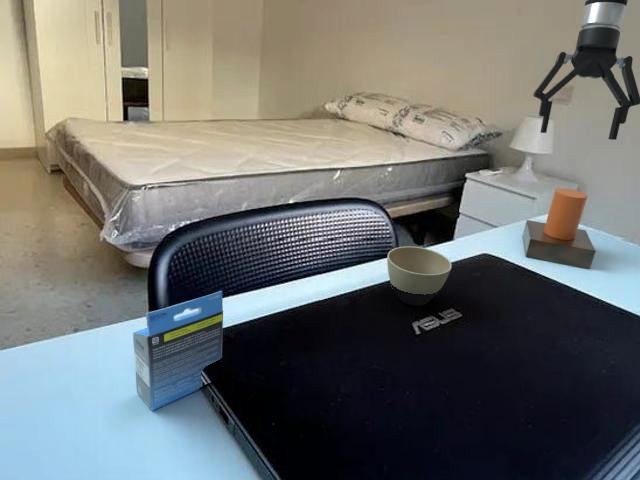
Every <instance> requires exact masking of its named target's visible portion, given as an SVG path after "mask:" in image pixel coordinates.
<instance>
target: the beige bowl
mask: <svg viewBox="0 0 640 480" xmlns="http://www.w3.org/2000/svg"><path fill="white" fill-rule="evenodd" d="M386 257H387V260H386V263H387V265H386V266H387V272H388V273H387V274H388V279H389V281H390V285H391V284H392V285H393V286H394V287H396V288H397V289H399V290H401V291H404V292H408V293H412V294H422V295H423V294H424V295H426V294H433V293H436V292H438V291H439V290H440V291H441V289H442V288H443V286H444V285H445V283H446V281H447V279H448V278H449V276H450V273H451V270H452V267H453V265H452V262H451V260H449V258H448V257H446V256H445V255H443V254H442V253H440V252H438V251H435V250H433V249H429V248H426V247H421V246H409V245H407V246H406V245H405V246H399V247H395V248H393V249H391V250H389V251H388V253H387V256H386ZM392 285H391V286H392ZM440 291H439V292H440ZM439 292H438V293H439Z"/></svg>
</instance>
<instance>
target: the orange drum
mask: <svg viewBox="0 0 640 480" xmlns="http://www.w3.org/2000/svg"><path fill="white" fill-rule="evenodd" d="M587 199H588V195H587V194H586V193H584V192H582V191H580V190H577V189H571V188H564V187H563V188H560V187H559V188H555V190H554V192H553V196H552V200H551V202H550V203H551V204H550V207H549V210H548V213H547V217H546V221H545V223H546V224H545V228H544V233H545V234H547V235H549V236H551V237H554V238H557V239H562V240H573V239H574V238H575V236H576V232H577V229H579V225H580V222H581V219H582V215H583V213H584V209H585V208H586V207H585V206H586V203H587Z"/></svg>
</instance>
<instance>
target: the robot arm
mask: <svg viewBox="0 0 640 480" xmlns="http://www.w3.org/2000/svg"><path fill="white" fill-rule="evenodd" d="M628 1H629V0H585V2H584V7H583V11H582V15H581V16H582V17H581V21H580V25H579V26H580V28H581V30H579V31H578V34H577V40H576V45H575V49H574V53H573V54H569V53H566V51H560V53H558V54H557V56H556V59H555V63H554V65H553V66H552V67H551V69H549V71H548V73H547V74H546V75H545V77H544V78H543V79H542V81H541V82H540V84H539V85H538V87H537V88H536V89H535V90H534V92H533V93H532V94H533V95H532V96H533V97H534V98H537V99H538V100H540V105H539V111H538V116H539V117H542V122H541V128H540V131H539V132H540V133H541V134H547V131H548V125H549V120H550V117H551V111H552V106H553V102H554V101H553V100H550V99H551V98H552V97H553V96H554V95H556V94H557V93H558V92H559V91H560V90H561V89H563V88H564V87H565V86H566V85H567V84H568V83H569V82H570V81H572V80H573V79H574V78H576V76H578V77H579V78H582V79H583V78H584V79H585V78H590V79H600V78H601V80H603V82H604V83H605V84H606V86H607V87H608V89H609V91H610V92H611V94H612V96H613V97H614V99H615V101H616V102H617V104H618V105H619V106H618V107H615V109H614V112H613V116H612V122H611V126H610V129H609V130H610V131H609V134H608V140H612V141H613V140H617V137H618V134H619V130H620V125H624V124H625V123H626V122H627V117H628V114H629V109H630V108H631V107H634V106H638V105H640V92H639V89H638V84H637V82H636V78H635V74H634V70H633V60H634V59H633V56H632V55H628V56H625V57H617V50H618V46H619V42H620V37H621V31H620V29H621V28H622V27H623V24H624V19H625V14H626V10H627V5H628ZM569 61H570V63H571V65H572V67H573V69H572V70H570V71H569V72H568V73H567V74H566V75H565V76H564V77H563V78H561V80H560V81H558V82H557V83H556V84H555V85H553V86H552V87H551V88H550V89H549V90H548V91H546V93H544V91H545V90H546V89H547V87H548V86H549V84H550V83H551V82H552V81H553V79H554V77H555V76H556V75H557V74H558V72H559V71H560V70H561V68H562V67H563V65H566V64H567V63H568V62H569ZM615 65H617V67H618V68H619V69H620V70H621V75H622V79H623V82H624V87H625V89H626V93H627V94H626V93H625V92H624V90H623V89H622V87H621V86H620V84H619V82H618V81H617V79H616V77H615V74H614V73H613V71H612V68H614V66H615Z"/></svg>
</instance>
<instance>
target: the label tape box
mask: <svg viewBox="0 0 640 480" xmlns="http://www.w3.org/2000/svg"><path fill="white" fill-rule="evenodd" d="M223 309H224V308H223V290H219V291H217V292H214V293H211V294H208V295H204V296H201V297H198V298H194V299H191V300H186V301H184V302H181V303H177V304H174V305H171V306H167V307H165V308H161V309H157V310H153V311H148V312H146V313H145V319H146V327H145V328H143V329H139V330H136V331H134V332H133V333H132V339H133V353H134V369H135V385H136V393H137V395H138V396H139V397H140V398H141V400H142V401H143V402H144V403H145V405H146V406H147V408H149V410H150V411H155V410H157V409H159V408H162V407H164V406H166V405H168V404H170V403H172V402H174V401H176V400H178V399H181V398H183V397H186V396H187V395H190V394H192V393H194V392H197V391H198V390H200V389H199V388H200V387H201V371H202V370H203V369H204V368H205V367H206V366H208V365H210V364H212V363H214V362H216V361H218V360H220V359H221V358H223V331H224V329H223V328H224V310H223ZM186 310H188V311H193V312H189V313H187V314H184V312H185V311H186ZM194 310H195V311H194ZM181 314H184V315H181ZM178 315H180V316H178ZM176 316H178V317H176ZM161 406H162V407H161Z"/></svg>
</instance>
